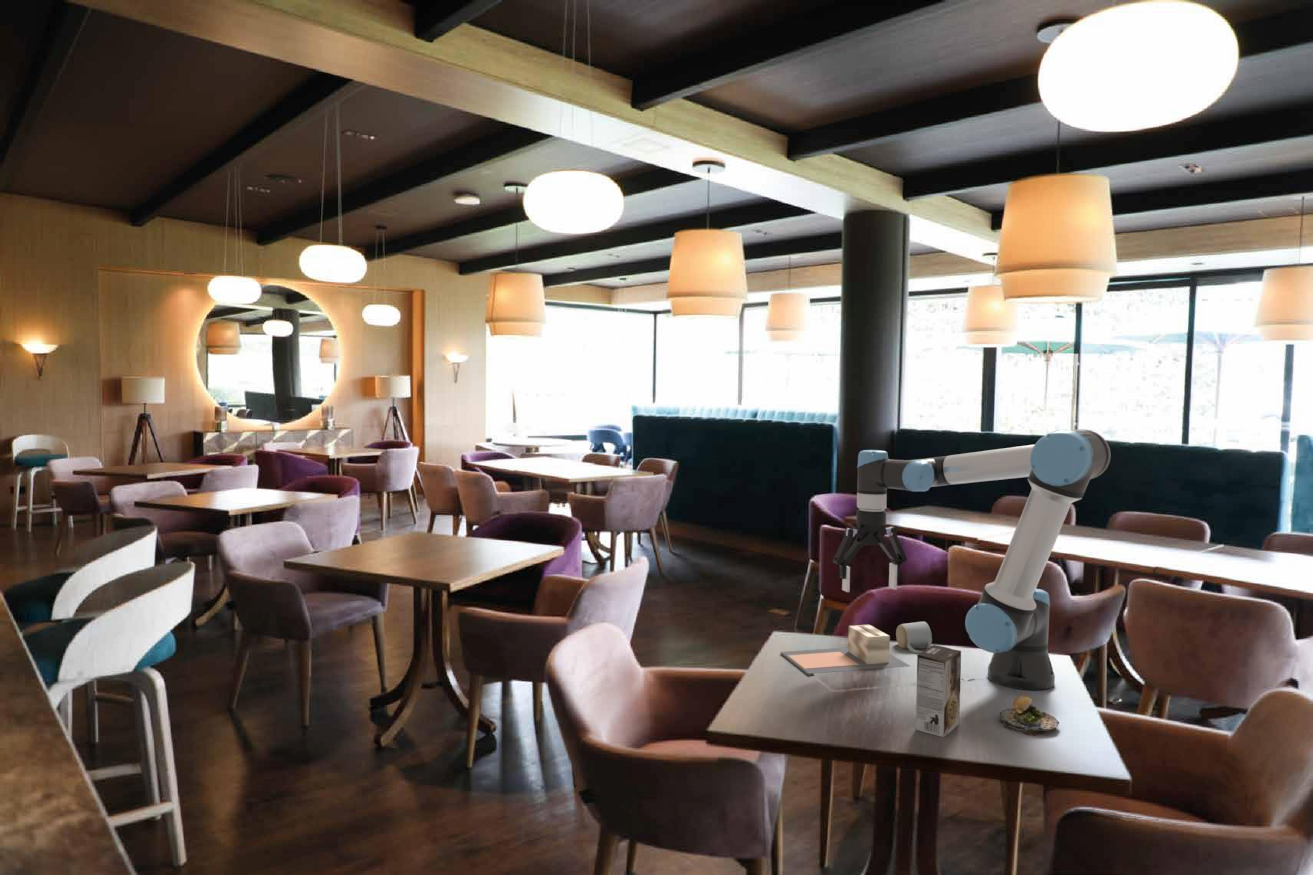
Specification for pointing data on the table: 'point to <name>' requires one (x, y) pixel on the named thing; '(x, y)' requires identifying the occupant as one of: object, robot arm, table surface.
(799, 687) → the table surface
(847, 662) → the mat
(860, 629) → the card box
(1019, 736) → the table surface
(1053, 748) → the table surface
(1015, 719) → the plate of food
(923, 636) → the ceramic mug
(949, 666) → the coffee box
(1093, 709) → the table surface
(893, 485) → the robot arm
